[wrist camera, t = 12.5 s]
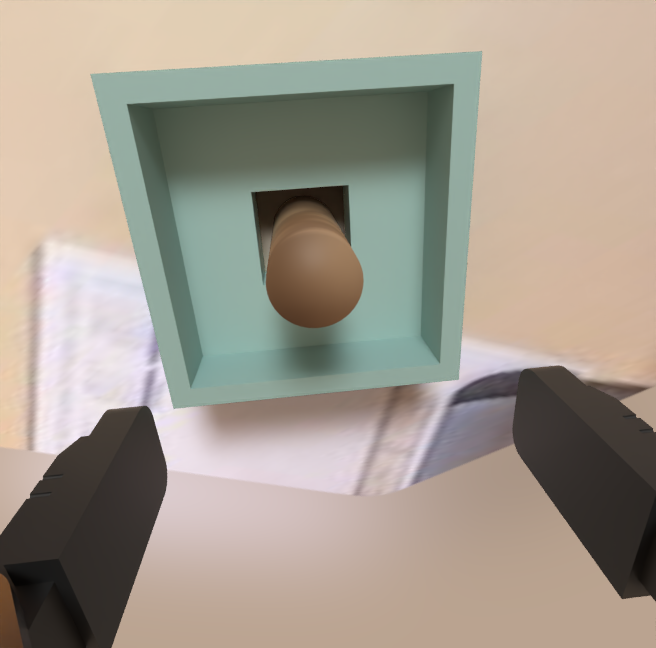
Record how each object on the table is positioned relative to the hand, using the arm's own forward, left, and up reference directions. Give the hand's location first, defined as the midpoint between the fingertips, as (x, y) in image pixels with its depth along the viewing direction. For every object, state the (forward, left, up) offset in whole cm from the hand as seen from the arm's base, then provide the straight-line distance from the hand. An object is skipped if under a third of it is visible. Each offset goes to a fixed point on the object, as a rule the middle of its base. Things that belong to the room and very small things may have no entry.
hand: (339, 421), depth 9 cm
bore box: (0, 0, -21) cm, 21 cm away
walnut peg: (0, 0, -21) cm, 21 cm away
